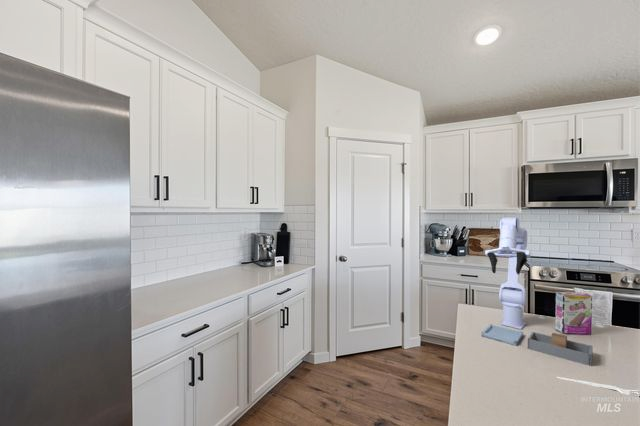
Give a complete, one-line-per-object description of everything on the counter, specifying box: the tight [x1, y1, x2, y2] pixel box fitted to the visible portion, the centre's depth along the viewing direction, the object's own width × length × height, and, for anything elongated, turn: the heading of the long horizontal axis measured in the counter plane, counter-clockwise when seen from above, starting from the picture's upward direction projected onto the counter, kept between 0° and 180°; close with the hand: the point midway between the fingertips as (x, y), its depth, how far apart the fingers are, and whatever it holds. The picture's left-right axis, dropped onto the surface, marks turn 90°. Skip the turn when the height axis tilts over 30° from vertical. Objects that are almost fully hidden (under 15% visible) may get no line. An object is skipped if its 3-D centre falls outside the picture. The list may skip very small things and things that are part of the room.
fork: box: [556, 376, 640, 396], centre depth 84 cm, size 3×20×2 cm, turn 62°
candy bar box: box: [554, 291, 593, 336], centre depth 122 cm, size 11×5×16 cm, turn 84°
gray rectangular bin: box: [527, 331, 594, 367], centre depth 105 cm, size 9×17×4 cm, turn 45°
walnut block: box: [550, 332, 568, 348], centre depth 105 cm, size 4×4×6 cm
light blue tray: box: [481, 324, 524, 347], centre depth 118 cm, size 12×12×2 cm
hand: (505, 272), depth 107 cm, fingers open, 7 cm apart
